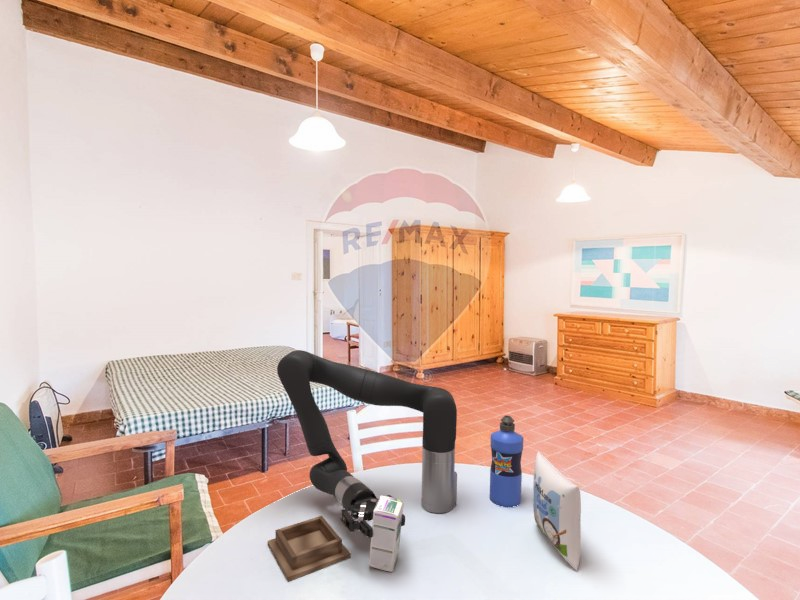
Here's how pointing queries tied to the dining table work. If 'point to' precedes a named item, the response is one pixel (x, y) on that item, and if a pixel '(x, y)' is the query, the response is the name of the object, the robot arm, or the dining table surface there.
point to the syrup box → (386, 533)
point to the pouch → (557, 509)
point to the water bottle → (506, 465)
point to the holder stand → (307, 547)
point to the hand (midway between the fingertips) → (387, 527)
